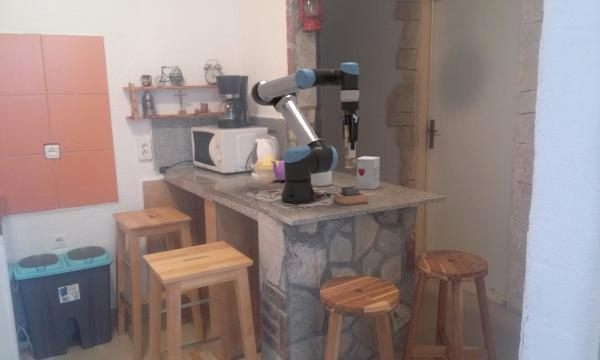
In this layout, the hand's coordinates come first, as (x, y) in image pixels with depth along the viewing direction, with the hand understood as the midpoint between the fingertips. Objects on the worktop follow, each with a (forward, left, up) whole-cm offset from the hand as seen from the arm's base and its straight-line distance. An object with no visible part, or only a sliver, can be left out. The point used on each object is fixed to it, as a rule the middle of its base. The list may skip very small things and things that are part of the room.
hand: (350, 157), depth 204 cm
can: (+1, +44, -20) cm, 48 cm away
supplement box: (+20, +26, -20) cm, 38 cm away
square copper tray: (0, 0, -19) cm, 19 cm away
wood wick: (0, 0, -5) cm, 5 cm away
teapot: (-12, +61, -20) cm, 65 cm away
